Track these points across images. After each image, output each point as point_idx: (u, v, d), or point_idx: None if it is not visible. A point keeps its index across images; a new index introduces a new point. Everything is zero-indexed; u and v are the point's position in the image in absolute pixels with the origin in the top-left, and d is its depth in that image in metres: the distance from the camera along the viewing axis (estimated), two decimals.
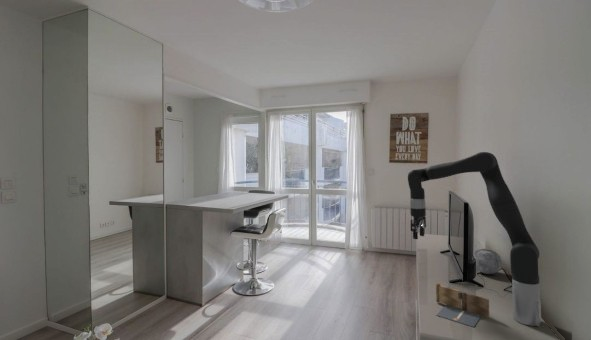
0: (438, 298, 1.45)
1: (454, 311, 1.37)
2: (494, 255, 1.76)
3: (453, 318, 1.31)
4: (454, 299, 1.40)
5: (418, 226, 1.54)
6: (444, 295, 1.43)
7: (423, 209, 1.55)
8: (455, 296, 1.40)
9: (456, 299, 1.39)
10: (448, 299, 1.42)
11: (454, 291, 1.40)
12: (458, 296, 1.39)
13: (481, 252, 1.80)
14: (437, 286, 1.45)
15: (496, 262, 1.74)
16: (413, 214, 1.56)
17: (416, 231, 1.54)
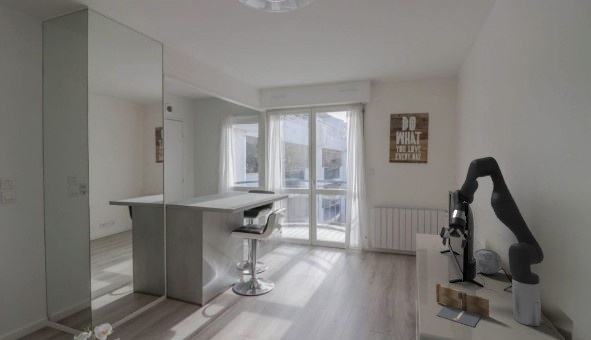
0: (438, 298, 1.45)
1: (454, 311, 1.37)
2: (494, 255, 1.76)
3: (453, 318, 1.31)
4: (454, 299, 1.40)
5: (447, 232, 1.61)
6: (444, 295, 1.43)
7: (454, 217, 1.62)
8: (455, 296, 1.40)
9: (456, 299, 1.39)
10: (448, 299, 1.42)
11: (454, 291, 1.40)
12: (458, 296, 1.39)
13: (481, 252, 1.80)
14: (437, 286, 1.45)
15: (496, 262, 1.74)
16: None
17: (443, 236, 1.61)
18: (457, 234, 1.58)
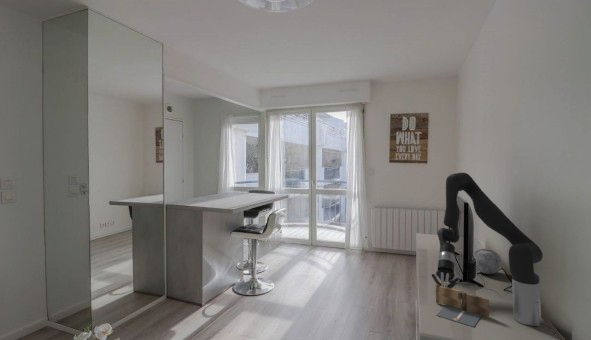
0: (438, 299, 1.45)
1: (454, 311, 1.37)
2: (494, 255, 1.76)
3: (453, 318, 1.31)
4: (454, 299, 1.40)
5: (440, 279, 1.48)
6: (444, 295, 1.43)
7: (442, 260, 1.53)
8: (455, 296, 1.40)
9: (456, 299, 1.39)
10: (448, 299, 1.42)
11: (454, 291, 1.40)
12: (458, 296, 1.39)
13: (481, 252, 1.80)
14: (437, 287, 1.45)
15: (496, 262, 1.74)
16: None
17: (441, 285, 1.47)
18: None
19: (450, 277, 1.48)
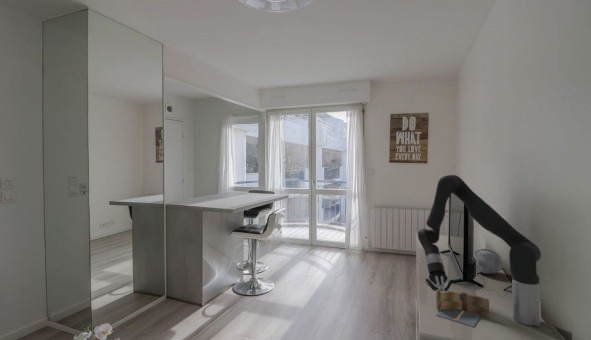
0: (439, 305, 1.38)
1: (454, 311, 1.37)
2: (494, 255, 1.76)
3: (453, 318, 1.31)
4: (455, 302, 1.37)
5: (436, 284, 1.43)
6: (445, 300, 1.38)
7: (433, 263, 1.48)
8: (456, 298, 1.37)
9: (457, 301, 1.37)
10: (450, 303, 1.38)
11: (455, 293, 1.37)
12: (459, 297, 1.37)
13: (481, 252, 1.80)
14: (439, 293, 1.38)
15: (496, 262, 1.74)
16: None
17: (438, 289, 1.42)
18: None
19: (444, 280, 1.45)
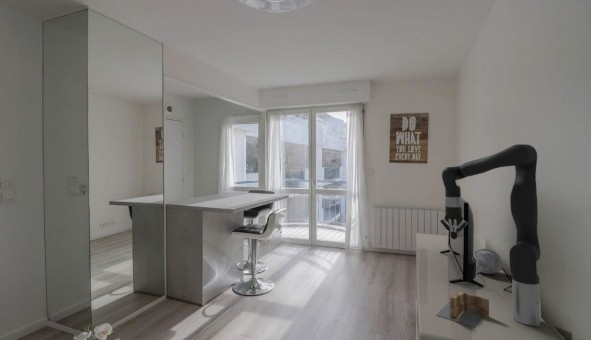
0: (453, 313, 1.31)
1: None
2: (494, 255, 1.76)
3: (453, 318, 1.31)
4: (461, 304, 1.35)
5: (449, 226, 1.54)
6: (456, 306, 1.32)
7: (448, 207, 1.52)
8: (461, 300, 1.35)
9: (462, 303, 1.35)
10: (458, 307, 1.33)
11: (461, 296, 1.35)
12: (463, 299, 1.36)
13: (481, 252, 1.80)
14: (453, 300, 1.30)
15: (496, 262, 1.74)
16: None
17: (450, 230, 1.54)
18: None
19: (458, 222, 1.51)
